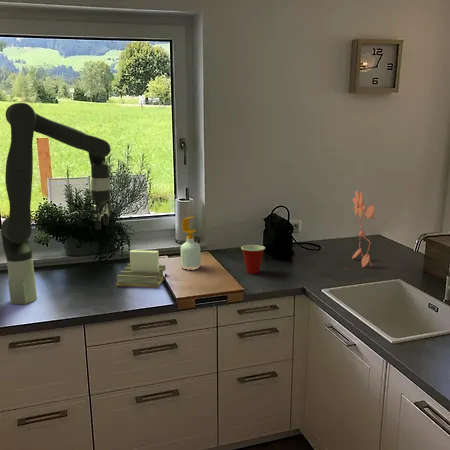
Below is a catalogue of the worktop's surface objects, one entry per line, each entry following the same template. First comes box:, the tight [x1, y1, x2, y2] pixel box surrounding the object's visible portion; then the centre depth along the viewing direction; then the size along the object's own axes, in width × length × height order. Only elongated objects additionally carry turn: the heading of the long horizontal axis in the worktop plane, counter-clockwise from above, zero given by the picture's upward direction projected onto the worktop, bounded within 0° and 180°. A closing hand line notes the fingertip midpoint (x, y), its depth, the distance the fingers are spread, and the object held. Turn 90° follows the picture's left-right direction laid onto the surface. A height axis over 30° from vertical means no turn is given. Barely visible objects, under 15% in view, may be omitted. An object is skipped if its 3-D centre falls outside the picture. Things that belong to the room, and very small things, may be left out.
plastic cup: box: [240, 244, 266, 275], centre depth 219 cm, size 11×11×12 cm
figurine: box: [345, 190, 375, 271], centre depth 226 cm, size 15×26×35 cm, turn 5°
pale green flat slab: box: [129, 249, 160, 272], centre depth 209 cm, size 2×12×12 cm, turn 83°
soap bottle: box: [180, 215, 202, 267], centre depth 223 cm, size 9×9×25 cm
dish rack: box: [115, 263, 166, 289], centre depth 211 cm, size 16×18×4 cm
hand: (102, 227), depth 203 cm, fingers open, 8 cm apart
